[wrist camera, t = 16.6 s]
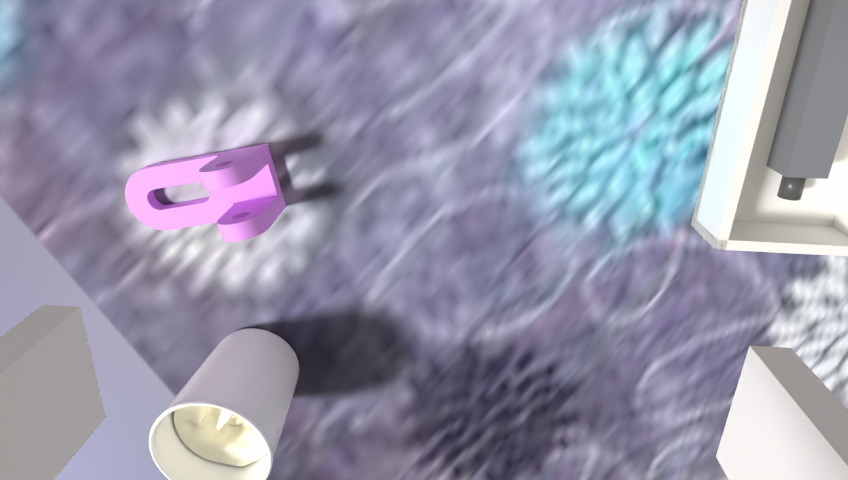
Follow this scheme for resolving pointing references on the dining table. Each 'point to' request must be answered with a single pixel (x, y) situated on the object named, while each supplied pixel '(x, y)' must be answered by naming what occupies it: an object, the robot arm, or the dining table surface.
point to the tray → (766, 149)
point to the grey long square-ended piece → (813, 100)
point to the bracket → (212, 192)
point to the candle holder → (229, 411)
